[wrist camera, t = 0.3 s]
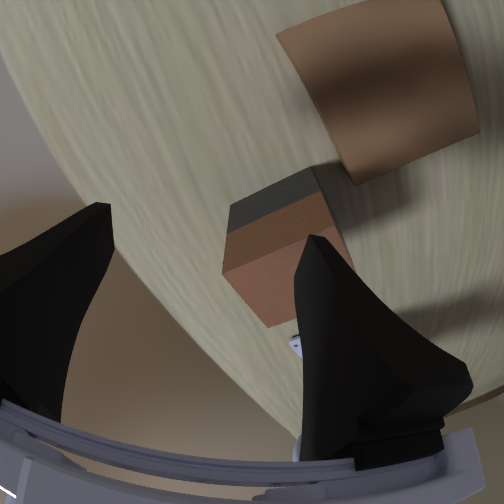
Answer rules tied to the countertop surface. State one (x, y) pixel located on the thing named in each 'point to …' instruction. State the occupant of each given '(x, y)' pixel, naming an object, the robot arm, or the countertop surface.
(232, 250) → the block
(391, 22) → the walnut stand
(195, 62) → the countertop surface
